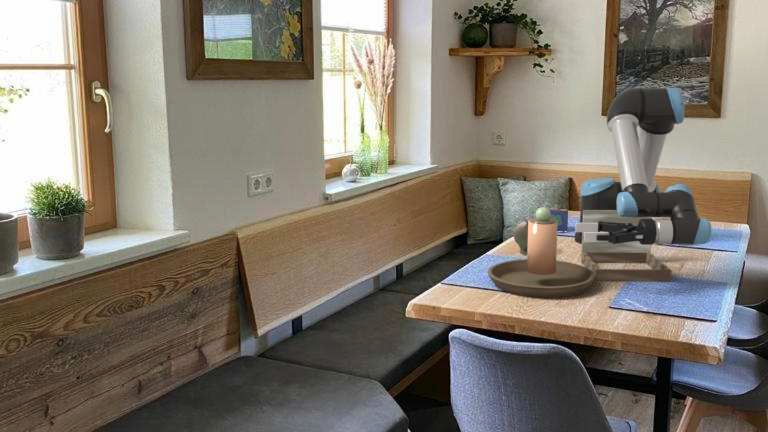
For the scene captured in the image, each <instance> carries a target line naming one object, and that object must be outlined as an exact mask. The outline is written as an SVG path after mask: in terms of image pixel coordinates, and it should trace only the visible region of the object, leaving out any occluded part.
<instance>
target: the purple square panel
mask: <svg viewBox="0 0 768 432" xmlns="http://www.w3.org/2000/svg"><path fill="white" fill-rule="evenodd" d="M546 208H547V207H546ZM547 209H549V211H550V213H551V217H550V218H553V219H556V221H558V225H557V231H567V232H568V231H569V229H568V228H569V227H568V226H569V225H568V224H569V220H568V218H569V217H568V216H569V210H568V209H566V208H564V209H560V208H559V204H554V207H548V208H547Z"/></svg>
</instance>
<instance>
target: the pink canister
mask: <svg viewBox="0 0 768 432" xmlns="http://www.w3.org/2000/svg"><path fill="white" fill-rule="evenodd" d="M550 217H551V213H550V211H549V209H547V207H546V206H543V207H542V206H541V207H539V208H537V210H536V211H535V217H531V218H529V219H528V221H527V222H528V248H527V256H526V259H527V271H528V272H529V273H532V274H537V275H549V274H553V273H555V272H556V260H557V253H558V252H557V247H558V246H557V245H558V232H557V225H558V221H556V219H553V218H550Z"/></svg>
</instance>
